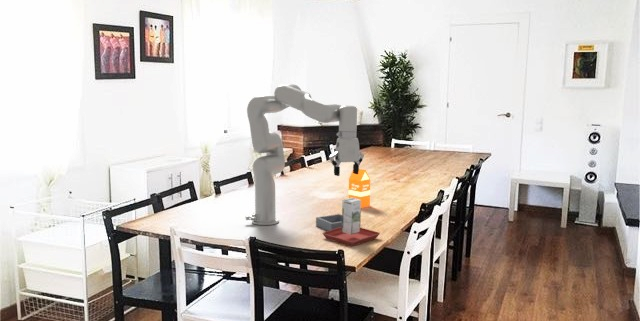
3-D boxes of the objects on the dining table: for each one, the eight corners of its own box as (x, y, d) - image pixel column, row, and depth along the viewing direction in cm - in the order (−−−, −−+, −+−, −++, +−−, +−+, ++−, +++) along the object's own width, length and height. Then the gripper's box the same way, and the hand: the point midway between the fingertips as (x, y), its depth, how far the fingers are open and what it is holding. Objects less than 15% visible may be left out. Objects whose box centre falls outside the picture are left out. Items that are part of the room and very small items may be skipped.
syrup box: (350, 229, 235) (351, 197, 233) (360, 232, 231) (361, 199, 229) (341, 232, 232) (341, 199, 229) (351, 235, 227) (351, 201, 225)
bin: (331, 232, 240) (331, 223, 240) (316, 225, 251) (316, 217, 251) (355, 228, 247) (355, 219, 247) (339, 222, 258) (339, 213, 258)
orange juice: (357, 203, 299) (358, 167, 296) (370, 205, 292) (370, 169, 289) (348, 205, 293) (348, 168, 290) (360, 208, 287) (361, 170, 284)
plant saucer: (352, 249, 219) (352, 241, 219) (321, 239, 232) (321, 232, 231) (380, 240, 232) (381, 232, 231) (349, 231, 244) (349, 224, 244)
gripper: (335, 136, 222) (333, 177, 225) (369, 135, 231) (367, 174, 233) (325, 134, 228) (324, 174, 231) (359, 133, 237) (357, 171, 240)
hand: (346, 174), depth 232 cm, fingers open, 9 cm apart
